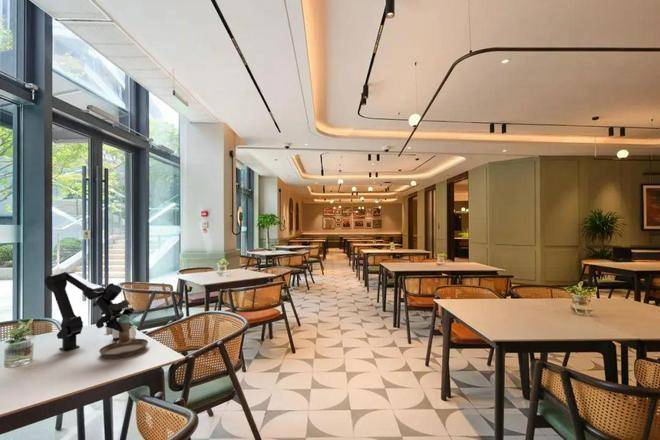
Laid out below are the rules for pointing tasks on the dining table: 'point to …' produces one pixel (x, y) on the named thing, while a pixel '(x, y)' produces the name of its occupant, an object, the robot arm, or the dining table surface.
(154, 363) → the dining table surface
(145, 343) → the plant saucer
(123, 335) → the bead column
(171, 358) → the dining table surface
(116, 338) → the spread jar
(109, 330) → the lighter
